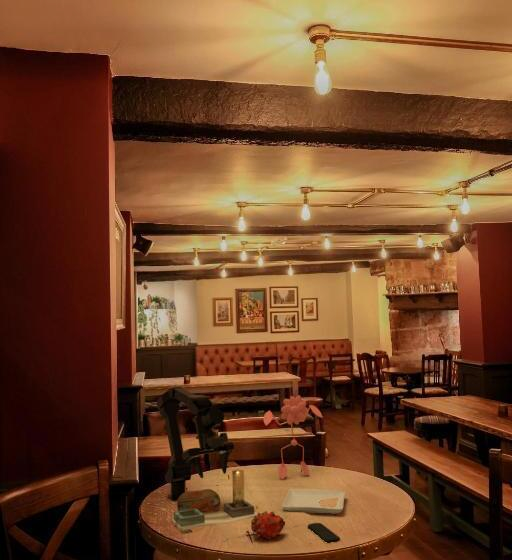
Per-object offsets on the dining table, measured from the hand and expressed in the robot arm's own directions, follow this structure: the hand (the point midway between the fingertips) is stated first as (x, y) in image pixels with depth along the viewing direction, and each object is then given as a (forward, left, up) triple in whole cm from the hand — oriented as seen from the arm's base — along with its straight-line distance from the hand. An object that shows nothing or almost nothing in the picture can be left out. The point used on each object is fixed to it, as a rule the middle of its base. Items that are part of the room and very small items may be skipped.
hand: (213, 475), depth 200 cm
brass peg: (+5, +7, -12) cm, 15 cm away
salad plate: (+9, +35, -14) cm, 39 cm away
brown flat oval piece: (-3, -5, -14) cm, 15 cm away
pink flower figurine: (-26, +47, -14) cm, 56 cm away
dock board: (+6, -1, -13) cm, 15 cm away
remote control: (+34, +23, -14) cm, 43 cm away
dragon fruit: (+28, +7, -14) cm, 32 cm away
